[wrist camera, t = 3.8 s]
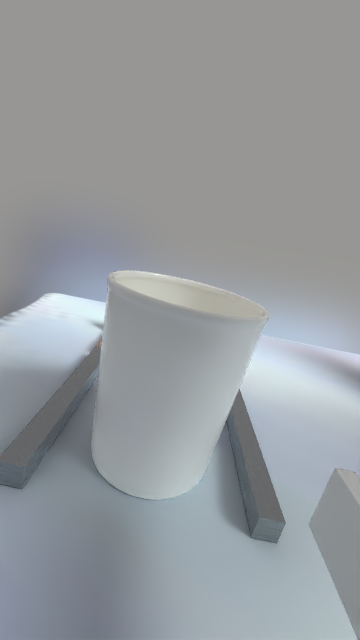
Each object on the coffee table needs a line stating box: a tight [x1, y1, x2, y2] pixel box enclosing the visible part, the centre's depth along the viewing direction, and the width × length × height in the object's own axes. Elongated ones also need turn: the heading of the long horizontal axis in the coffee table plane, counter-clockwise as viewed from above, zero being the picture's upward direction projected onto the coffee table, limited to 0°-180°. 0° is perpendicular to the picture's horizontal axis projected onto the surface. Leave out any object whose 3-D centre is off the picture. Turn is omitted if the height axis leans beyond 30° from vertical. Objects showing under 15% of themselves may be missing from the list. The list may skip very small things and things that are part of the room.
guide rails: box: [0, 346, 285, 543], centre depth 24 cm, size 16×17×2 cm
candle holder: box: [91, 270, 269, 500], centre depth 19 cm, size 10×10×12 cm
